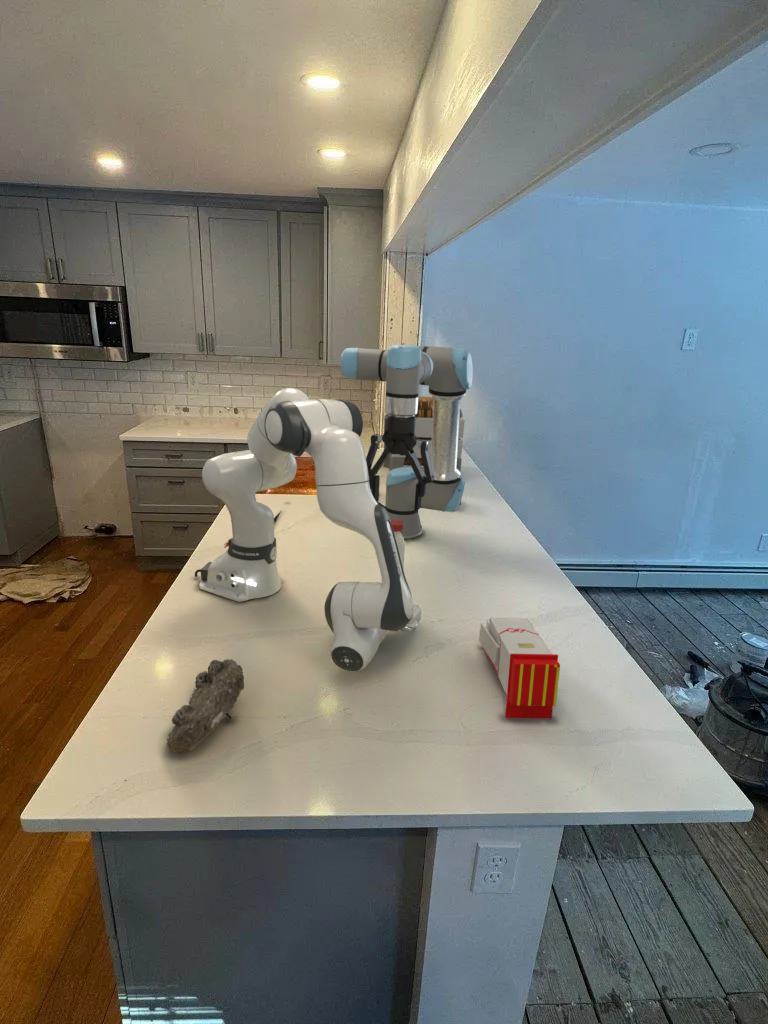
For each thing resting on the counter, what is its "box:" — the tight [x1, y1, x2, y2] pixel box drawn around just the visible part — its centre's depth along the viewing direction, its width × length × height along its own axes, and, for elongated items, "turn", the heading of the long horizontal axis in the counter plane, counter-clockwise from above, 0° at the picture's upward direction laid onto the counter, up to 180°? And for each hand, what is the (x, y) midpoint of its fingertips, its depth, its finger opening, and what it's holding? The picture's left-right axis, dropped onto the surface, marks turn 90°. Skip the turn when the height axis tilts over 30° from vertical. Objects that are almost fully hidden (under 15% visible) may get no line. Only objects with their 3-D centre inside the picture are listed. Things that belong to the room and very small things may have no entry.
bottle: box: [380, 531, 406, 582], centre depth 144 cm, size 6×6×25 cm
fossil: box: [166, 658, 245, 754], centre depth 106 cm, size 22×10×15 cm
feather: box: [274, 510, 282, 524], centre depth 212 cm, size 2×28×2 cm
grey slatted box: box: [383, 396, 465, 475], centre depth 268 cm, size 34×33×41 cm
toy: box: [478, 616, 561, 720], centre depth 122 cm, size 12×13×30 cm
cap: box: [390, 520, 403, 532], centre depth 140 cm, size 4×4×2 cm
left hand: (387, 595), depth 143 cm, fingers open, 8 cm apart
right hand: (396, 505), depth 138 cm, fingers open, 10 cm apart
